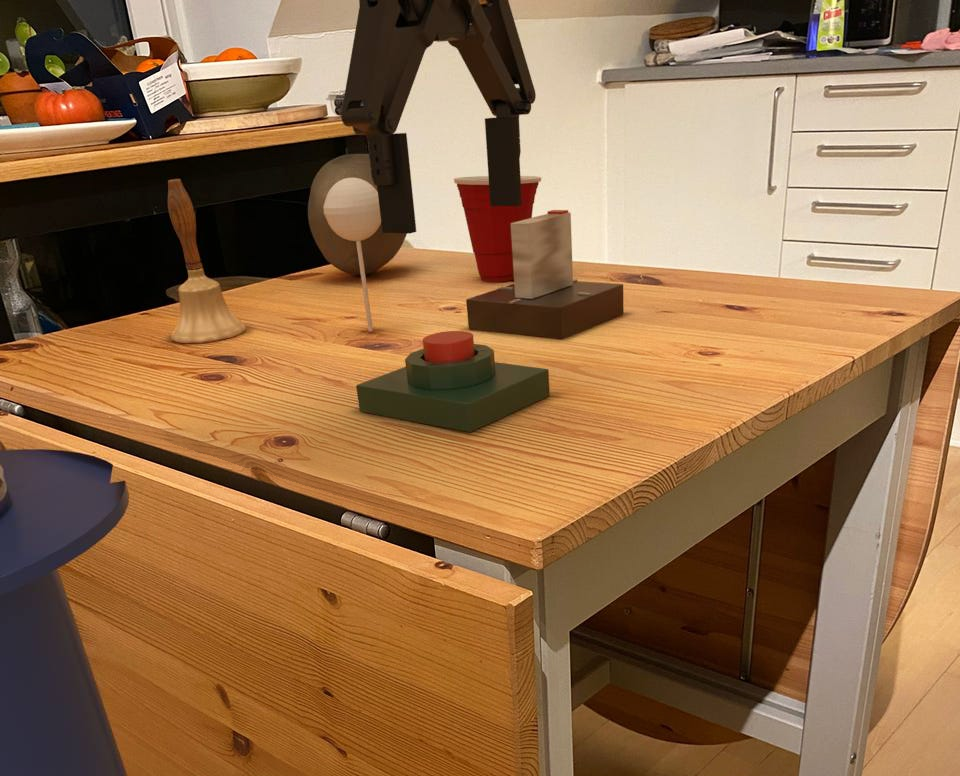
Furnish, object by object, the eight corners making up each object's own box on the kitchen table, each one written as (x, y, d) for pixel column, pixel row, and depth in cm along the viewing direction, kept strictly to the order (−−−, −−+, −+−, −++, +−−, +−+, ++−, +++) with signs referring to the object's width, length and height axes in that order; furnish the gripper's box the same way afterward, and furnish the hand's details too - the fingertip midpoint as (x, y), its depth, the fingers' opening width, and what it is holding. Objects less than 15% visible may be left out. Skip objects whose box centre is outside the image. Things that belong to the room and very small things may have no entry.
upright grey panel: (532, 299, 98) (527, 221, 94) (515, 297, 99) (510, 220, 95) (573, 284, 102) (570, 209, 99) (556, 283, 103) (553, 209, 100)
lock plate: (467, 329, 102) (464, 297, 101) (532, 305, 109) (531, 276, 108) (561, 339, 95) (560, 305, 93) (624, 313, 102) (624, 282, 101)
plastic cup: (563, 274, 123) (559, 169, 117) (491, 289, 119) (483, 181, 113) (515, 265, 132) (509, 167, 126) (446, 279, 127) (437, 178, 121)
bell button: (414, 363, 78) (412, 340, 77) (447, 350, 80) (445, 329, 80) (452, 368, 76) (449, 345, 75) (485, 355, 78) (483, 333, 77)
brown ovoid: (295, 283, 134) (274, 162, 127) (365, 263, 144) (350, 149, 136) (370, 288, 126) (353, 159, 119) (439, 267, 136) (427, 146, 128)
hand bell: (248, 336, 108) (216, 177, 100) (171, 347, 106) (133, 187, 98) (243, 321, 115) (213, 172, 107) (171, 332, 113) (135, 180, 105)
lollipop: (363, 340, 102) (341, 182, 94) (331, 334, 105) (307, 181, 98) (410, 327, 105) (391, 173, 97) (377, 321, 109) (357, 173, 101)
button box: (359, 411, 80) (351, 362, 78) (440, 379, 86) (435, 333, 84) (470, 432, 73) (465, 379, 71) (550, 395, 79) (547, 346, 77)
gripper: (340, -147, 56) (386, 247, 67) (573, -115, 73) (580, 196, 83) (252, -123, 60) (309, 244, 71) (492, -99, 77) (508, 195, 88)
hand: (455, 218), depth 77 cm, fingers open, 13 cm apart
